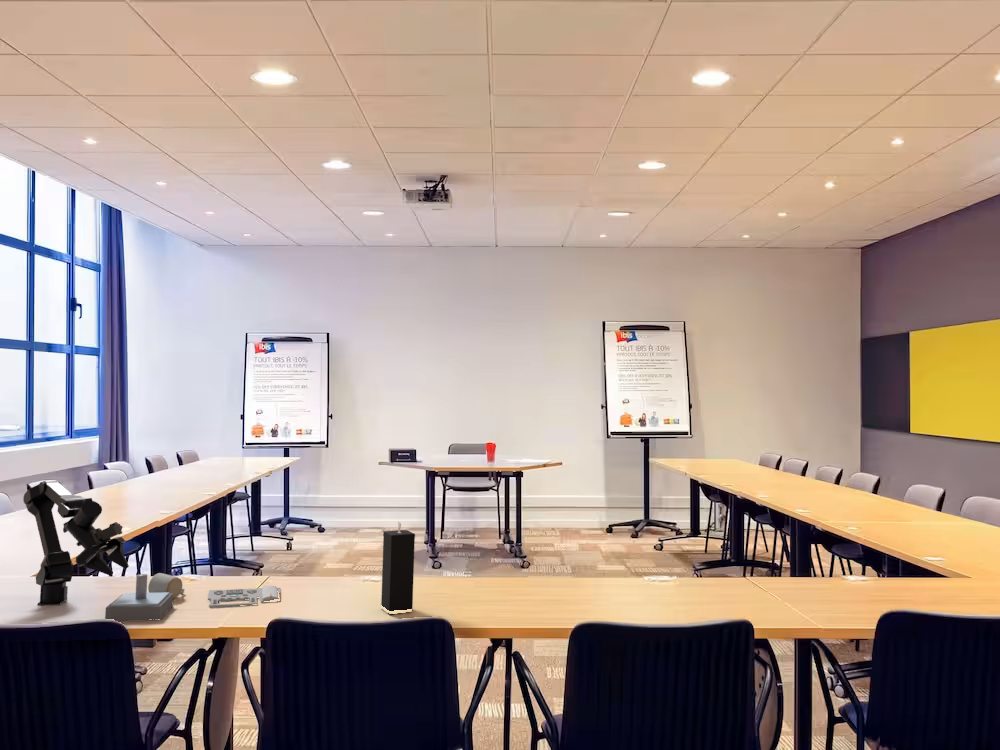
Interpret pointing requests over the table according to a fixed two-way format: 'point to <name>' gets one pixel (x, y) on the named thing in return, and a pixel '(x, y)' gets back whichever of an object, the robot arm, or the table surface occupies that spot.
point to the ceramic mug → (165, 584)
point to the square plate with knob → (140, 595)
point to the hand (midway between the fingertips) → (119, 570)
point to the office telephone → (242, 595)
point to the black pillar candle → (398, 569)
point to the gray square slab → (139, 611)
